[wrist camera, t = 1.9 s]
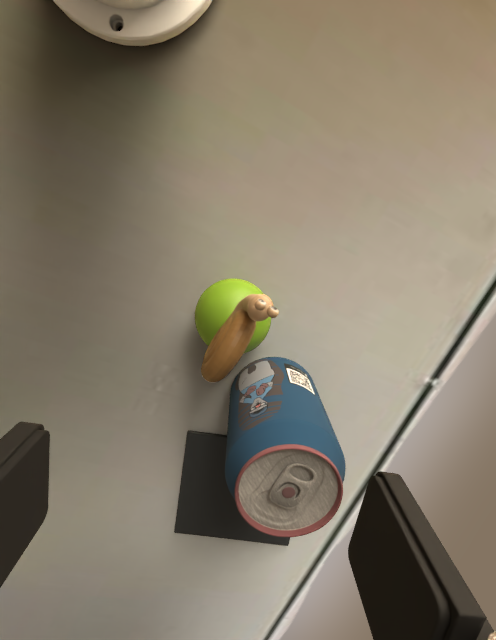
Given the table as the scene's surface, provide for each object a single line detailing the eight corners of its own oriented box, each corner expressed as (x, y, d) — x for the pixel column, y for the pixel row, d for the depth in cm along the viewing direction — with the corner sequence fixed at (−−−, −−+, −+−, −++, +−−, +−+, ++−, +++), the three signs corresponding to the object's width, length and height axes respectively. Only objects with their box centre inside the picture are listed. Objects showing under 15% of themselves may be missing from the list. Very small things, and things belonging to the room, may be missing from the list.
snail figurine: (288, 285, 28) (320, 334, 17) (245, 351, 30) (246, 439, 18) (228, 248, 27) (217, 272, 16) (187, 318, 29) (149, 388, 17)
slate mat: (188, 430, 32) (187, 432, 31) (311, 446, 32) (311, 448, 32) (174, 529, 35) (174, 532, 34) (287, 543, 35) (288, 545, 35)
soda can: (285, 437, 32) (309, 564, 20) (215, 403, 31) (199, 515, 19) (328, 375, 30) (381, 473, 19) (256, 336, 29) (265, 415, 18)
